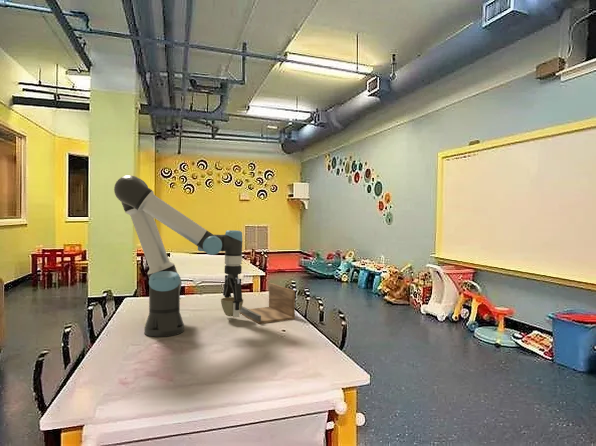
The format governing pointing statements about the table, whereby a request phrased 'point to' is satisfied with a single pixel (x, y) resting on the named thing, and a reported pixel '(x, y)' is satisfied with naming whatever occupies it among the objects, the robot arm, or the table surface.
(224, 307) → the flower pot
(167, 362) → the table surface
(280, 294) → the brown piece
